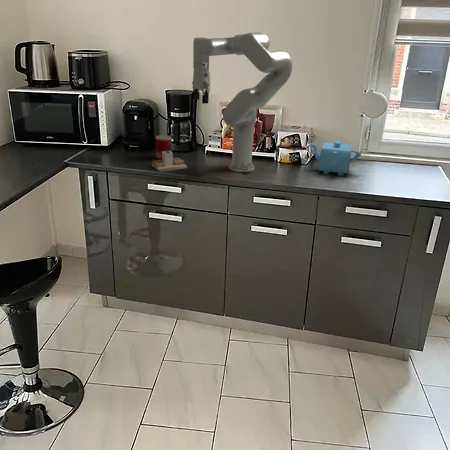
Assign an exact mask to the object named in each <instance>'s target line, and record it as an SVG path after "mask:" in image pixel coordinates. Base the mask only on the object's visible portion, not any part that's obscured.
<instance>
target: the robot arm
mask: <svg viewBox="0 0 450 450" xmlns="http://www.w3.org/2000/svg"><path fill="white" fill-rule="evenodd" d="M270 42H271V40H270V38H269V36H268V35H267V34H265V33H263V32H248V33H242V34H236V35H234V36H230V37H229V36H228V37H213V38H207V37H195V38H194V39H193V43H192V44H193V47H192V49H193V54H192V55H193V62H192V63H193V65H192V66H193V67H192V69H193V75H192V82H191V85H192V92H193V93H192V95H193V96H192V97H193V98H192V99H193V101H199V100H200V91H201V93H202V95H201V103H202V104H209V101H210V100H209V99H210V98H209V95H210V91H211V75H210V57H212V56H213V57H215V56H225V55H226V56H227V55H236V56H243V55H244V56H245V57H246V58H247V59H248V61H249V62H251V64H252V65H253V66H254V67H255V68H256V69H257V70H258V71H260V72H261V73H264V74H267V75H265V76H264V77H263V78H262V79H261V80H260V81H259V82H258V83H257V84H256V85H255V86H253V87H250V88H245V89H242V90H241V91H239V92H238V93H237V94H236V95H235V96H234V97H233V98H232V99H231V101H230V102H229V103H228V104H227V105H226V106H225V108H224V109H223V112H222V119H223V121H224V123H225V125H227V126H229V127H233V132H232V154H231V155H232V157H231V160H232V161H231V163H230V164H228V169H229V170H230V171H232V172H237V173H238V172H239V173H248V172H252V171H254V170H255V167H256V166H255V165H254V164H253V161H252V160H253V159H252V158H253V144H254V129H255V124H256V121H257V119H256V118H257V110H259V109H262V108H263V107H265V106H266V105H267V103H268V102H270V100H271V99H273V97H274V96H275V95H276V94H277V93H278V92H279V90H281V89H282V88H283V86H284V85H285V84H286V83H287V82H288V81H289V79H290V77H291V75H292V72H293V59H292V56H291V55H290V54H289V53H288V52H286V51H284V50H278V49H277V50H270V51H269V50H268V49H269V47H270V44H271V43H270Z"/></svg>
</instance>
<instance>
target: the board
mask: <svg viewBox="0 0 450 450" xmlns="http://www.w3.org/2000/svg"><path fill="white" fill-rule="evenodd" d="M151 162H152V163H151V166H152V167H153V168H155V169H156V170H157V171H158V172H160V173H161V172H167V171H168V172H169V171H176V170H182V169H188V165H186V164H185V160H183V159H181V158H180V157H173V165H166V166H165V163H164V162H163V161H162V160H158V159H157V160H152V161H151Z"/></svg>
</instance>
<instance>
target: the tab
mask: <svg viewBox="0 0 450 450" xmlns="http://www.w3.org/2000/svg"><path fill="white" fill-rule="evenodd" d="M173 156H174V155H173V151H172V152H171V151H168V150H165V151H163V152H162V160H161V161H163V162H164V163H165V166H166V165H173V158H174V157H173Z"/></svg>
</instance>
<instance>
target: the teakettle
mask: <svg viewBox="0 0 450 450" xmlns="http://www.w3.org/2000/svg"><path fill="white" fill-rule="evenodd" d="M308 144H309V145H310V146H312V148H313V151H314V156H315V159H317V161H319V163H318V171H320V172H321V171H322V174H323V175H329V173H331V172H332V173H337V176H340V177H344V175H345V174H348V175H349V171H350V166H351V165H350V164H351V163H353V162H354V161H356V160H358V159H360V157H361V156H362V153H361V152H360V150H356V149H353V145H352V144H347V143H344V144H343V143H342V142H341V140H340V139H337V140H336V141H335V142H325V141H324V142H323V143H322V146H321V148H320V152H319V148H318V146H317V144H315V143H314V142H308ZM352 153H354V154H355V156H353V157H352Z"/></svg>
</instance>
